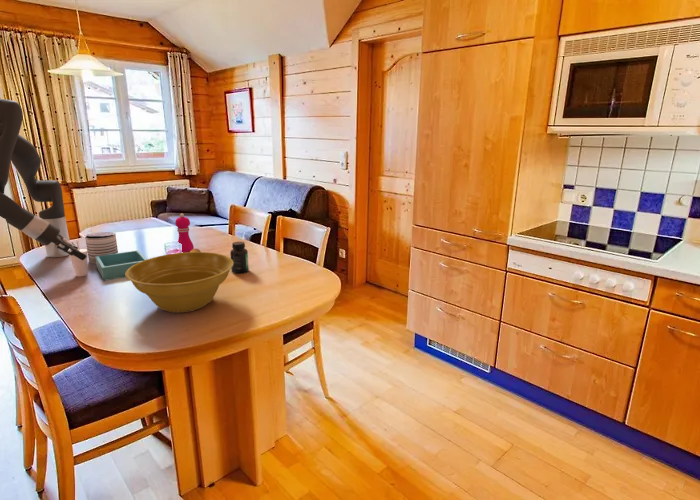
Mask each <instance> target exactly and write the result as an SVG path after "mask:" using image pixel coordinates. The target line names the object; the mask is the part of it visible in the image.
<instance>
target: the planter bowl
mask: <svg viewBox="0 0 700 500" xmlns="http://www.w3.org/2000/svg"><path fill="white" fill-rule="evenodd" d="M146 259H147V260H144V261H141V262H139V263H137V264H135V265H133V266H131V267H130V268H129V269H128V270H127V271H126V273H125V276H126V277H125V278H126V279H127V280H129V281H130V282H131V283H132V285H133V286H134V288H135V289H136V290H137V291H138V292H141V293H143V294H144V295H145V294H146V295H147V296H148V298H149V299H150V301H152V303H153V304H154V305H155V306H157V307H158V308H159V309H161V310H163V311H166V312H168V313H189V312H193V311H197V310H198V309H202V308H203V307H205V306H206V305H207V304H209V303H211V302H212V300H213V298H214V297H215V295H216V293H217V291H218V289H219V287H220V285H221V284H223V282H225V281H226V279H228V278H227V277H228V276H229V273H230V270H231V268H232V267H233V265H234V262H233V260H232V259H231V257H229V256H228V255H224V254H220V253H216V252H205V251H201V252H186V253H179V252H177V253H170V254H164V255H159V256H155V257H154V256H153V257H150V258H146Z"/></svg>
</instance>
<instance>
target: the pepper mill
mask: <svg viewBox="0 0 700 500" xmlns="http://www.w3.org/2000/svg"><path fill="white" fill-rule="evenodd" d="M174 222H175V223H174V224H175V226H176V227H177V228H176V229H177V232H178V239H177V242H179V243H181V244H182V252H183V253H186V252H190V251H191V250H193V249H195V247H194V244H193V241H192V240H191V238H190V233H189V232H190V226H191V221H190V219H189V218H188V217H187V216H185V214H184V213H180V214H179V216H178V217H177V218H176V219H175V221H174Z"/></svg>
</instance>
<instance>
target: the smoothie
mask: <svg viewBox="0 0 700 500" xmlns="http://www.w3.org/2000/svg"><path fill="white" fill-rule="evenodd" d="M76 247H78V249H77V250H78V251H80V252H81V253H83V254H85V255H86V256H87V257H86V258H85V259H84V260H81V259H79V258H77V257H76V256H74V255H72V256H71V255H70V254H68V255H67V256H69V258H70V260H71V264H72V267H73V269H74V272H75V275H76V277H83V276H84V277H85V276H87V275H88V251H87V248H80V244H79V240H78V239H76ZM79 248H80V249H79ZM71 251H72V250H71ZM71 251H70V252H71Z"/></svg>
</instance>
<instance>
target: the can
mask: <svg viewBox="0 0 700 500" xmlns="http://www.w3.org/2000/svg"><path fill="white" fill-rule="evenodd" d="M116 235H117V234H116V232H110V231H108V232H103V231H102V232H101V231H99V232H92V233H86V234H84V237H85V243H86V244H85V245H86V249H87V251H88V253H87V258H88V261H89V263H91V264H96V265H97V263H96V257H95V256H101V255H108V254H115V253H119V249H118V243H117V236H116Z"/></svg>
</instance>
